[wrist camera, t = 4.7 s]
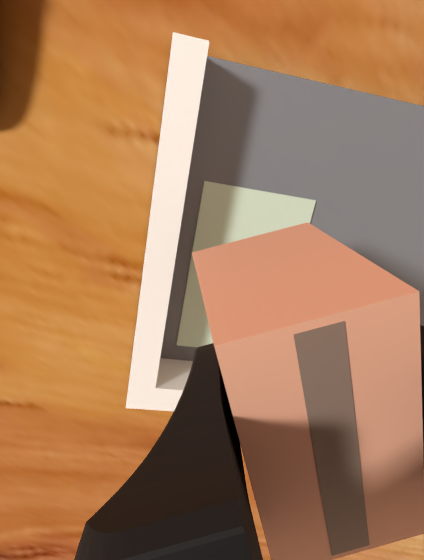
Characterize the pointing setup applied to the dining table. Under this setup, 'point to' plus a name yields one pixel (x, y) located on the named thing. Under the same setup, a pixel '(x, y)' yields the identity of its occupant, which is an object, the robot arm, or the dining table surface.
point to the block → (320, 389)
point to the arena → (265, 191)
